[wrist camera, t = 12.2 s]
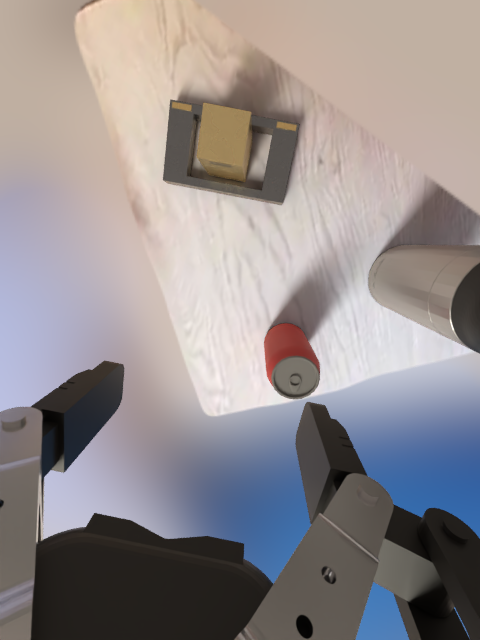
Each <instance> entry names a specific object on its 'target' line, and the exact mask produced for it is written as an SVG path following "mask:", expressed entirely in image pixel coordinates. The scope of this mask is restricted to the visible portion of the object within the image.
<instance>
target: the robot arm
mask: <svg viewBox="0 0 480 640" xmlns="http://www.w3.org/2000/svg"><path fill="white" fill-rule="evenodd" d="M368 286H369V290H370V293H371V295H372V297H373V298H374V299H375V300H376V301H377V302H378V303H379V304H381V305H382V306H384V307H386V308H388V309H390V310H392V311H394V312H396V313H398V314H400V315H402V316H404V317H406V318H408V319H410V320H412V321H414V322H416V323H418V324H420V325H422V326H424V327H426V328H428V329H431V330H433V331H435V332H437V333H439V334H441V335H443V336H445V337H447V338H449V339H451V340H453V341H455V342H457V343H459V344H461V345H463V346H465V347H467V348H469V349H472V350H474V351H476V352H478V353H480V245H400V246H396V247H393V248H391V249H389V250H387V251H386V252H384V253H383V254H381V255H380V256H379V257H378V258H377V260H376V261H375V262H374V264H373V265H372V268H371V270H370V273H369V278H368ZM123 378H124V366H123V364H119V363H114V362H109V361H103V362H102V363H101V364H99V365H98V366H97V367H96V368H94V369H93V370H86V371H83V372H81V373H78V374H76V375H74V376H73V377H71V378H70V379H69V380H67V382H65V383H63V384H62V385H60V386H59V388H56V389H55V390H53V391H52V392H51V393H49V394H48V395H47V396H45V397H44V398H42V399H41V400H40V401H38V402H37V403H35V404H34V405H32V406H31V407H17V408H12V409H8V410H5V411H2V412H0V640H355V639H356V635H357V632H358V629H359V626H360V623H361V619H362V616H363V613H364V610H365V606H366V603H367V600H368V597H369V593H370V590H371V587H372V584H373V582H375V583H376V584H378V585H380V586H382V587H384V588H385V589H387V590H389V591H391V592H392V593H394V596H395V599H396V602H397V605H398V608H399V611H400V613H401V617H402V619H403V622H404V625H405V628H406V631H407V634H408V637H409V639H410V640H480V539H479V538H478V536H477V535H476V534H475V532H473V530H472V529H471V528H470V527H469V526H468V525H466V524H465V523H464V522H463V521H461V520H460V519H459V518H457V517H456V516H454V515H452V514H450V513H448V512H446V511H444V510H441V509H437V508H429V509H427V510H426V511H425V513H424V515H423V517H422V518H421V517H419V516H417V515H415V514H413V513H411V512H408V511H406V510H404V509H402V508H400V507H398V506H396V505H394V504H393V501H392V499H391V497H390V495H389V493H388V492H387V491H386V490H385V489H384V488H383V487H382V486H381V485H380V484H379V483H378V482H376V481H375V480H373V479H371V478H370V477H368V476H367V474H366V472H365V470H364V468H363V466H362V463H361V461H360V459H359V457H358V455H357V453H356V451H355V449H354V448H353V444H352V442H351V441H350V438H349V436H348V434H347V432H346V430H345V429H344V427H343V426H342V425H341V424H340V423H339V422H338V421H337V420H335V419H331V418H330V415H329V413H328V411H327V408H326V406H325V405H321V404H315V403H311V402H307V403H306V404H305V407H304V410H303V413H302V417H301V420H300V423H299V427H298V430H297V434H296V450H297V455H298V460H299V465H300V470H301V476H302V481H303V486H304V491H305V497H306V502H307V507H308V512H309V518H310V523H311V524H312V525H311V527H310V528H309V530H308V531H307V533H306V534H305V536H304V537H303V539H302V541H301V542H300V544H299V545H298V547H297V548H296V550H295V551H294V554H293V555H292V556H291V558H290V559H289V561H288V563H287V564H286V566H285V567H284V569H283V570H282V572H281V573H280V575H279V576H278V578H277V580H276V581H275V583H274V584H273V583H272V582H271V581H270V580H269V578H268V577H267V576H266V575H265V574H264V573H262V571H261V570H259V569H258V568H257V567H255V566H254V565H253V564H252V563H250V562H249V561H247V560H245V559H243V557H244V544H243V543H238V542H234V541H229V540H224V539H219V538H214V537H209V536H203V537H190V538H178V539H164V538H162V537H160V536H159V535H157V534H155V533H153V532H151V531H149V530H148V529H145V528H144V527H142V526H140V525H138V524H137V523H135V522H133V521H131V520H126V519H121V518H116V517H111V516H107V515H102V514H97V513H94V515H93V516H92V518H91V520H90V521H89V523H88V525H87V526H86V527H81V528H76V529H71V530H67V531H64V532H61V533H58V534H55V535H53V536H50V537H48V538H46V539H44V540H43V512H44V477H45V475H46V474H47V473H48V472H49V471H50V470H54V471H59V472H65V471H66V470H67V469H68V467H69V466H70V465H71V464H72V463H73V462H74V460H75V459H76V458H77V457H78V455H79V454H80V453H81V452H82V451H83V450H84V449H85V447H86V446H87V445H88V444H89V443H90V441H91V440H92V439H93V437H95V435H96V434H97V433H98V432H99V431H100V430H101V428H102V427H103V426H104V425H105V424H106V422H107V421H108V420H109V419H110V418H111V416H112V415H113V414H114V413H115V412H116V410H117V409H118V407H119V405H120V403H121V400H122V393H123ZM454 607H455V608H456V610H457V612H458V614H459V616H460V618H461V620H462V622H463V624H464V626H465V628H466V630H467V632H468V635H469V637H470V639H469V637H468V635H467V633H466V631H465V630H464V627H463V625H462V623H461V621H460V619H459V617H458V615H457V613H456V611H455V609H454Z"/></svg>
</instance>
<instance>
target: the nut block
mask: <svg viewBox="0 0 480 640" xmlns="http://www.w3.org/2000/svg"><path fill="white" fill-rule="evenodd" d="M251 146H252V116H251V112H250V111H245V110H240V109H234V108H229V107H224V106H219V105H214V104H209V103H203V110H202V118H201V126H200V134H199V142H198V150H197V158H198V160H199V161H200V163H201V164H202V165H203V167H204V168H205V170H206V171H207V173H208V174H209V175H211V176H216V177H221V178H226V179H231V180H237V181H242V182H245V180H246V174H247V169H248V163H249V157H250V151H251Z"/></svg>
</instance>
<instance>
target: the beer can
mask: <svg viewBox="0 0 480 640" xmlns="http://www.w3.org/2000/svg"><path fill="white" fill-rule="evenodd" d="M264 348H265V361H266V371H267V377H268V379H269V381H270V383H271V384H272V386H273V387H274V389H275V390H276V391H277V392H278V393H279V394H280V395H282V396H284V397H286V398H289V399H302V398H304V397H306V396H309V395H310V394H311V393H312V392H314V391H315V389H316V388H317V386H318V384H319V380H320V376H319V375H320V365H319V361H318V359H317V357H316V355H315V353H314V351H313V349H312V347H311V345H310V344H309V342H308V340H307V338H306V336H305V334H304V332H303V331H302V330H301V329H300V328H299V327H297V326H295V325H293V324H288V323H284V324H278V325H276V326H274V327H273V328H272V329H270V330H269V331H268V333H267V335H266V336H265V341H264Z"/></svg>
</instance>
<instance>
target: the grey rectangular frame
mask: <svg viewBox="0 0 480 640" xmlns="http://www.w3.org/2000/svg"><path fill="white" fill-rule="evenodd" d="M202 110H203V106H202V105H196V104H191V103H186V102H181V101H175V100H170V110H169V121H168V132H167V142H166V153H165V164H164V175H163V180H164V181H165V182H166V183H168V184H173V185H179V186H184V187H189V188H194V189H199V190H205V191H210V192H215V193H220V194H226V195H231V196H236V197H241V198H246V199H252V200H257V201H262V202H267V203H273V204H278V205H282V204H283V200H284V195H285V191H286V186H287V181H288V177H289V172H290V167H291V162H292V158H293V153H294V148H295V144H296V139H297V134H298V129H299V125H300V124H296V123H291V122H286V121H281V120H275V119H270V118H265V117H259V116H254V115H251V116H252V131H253V132H258V133H263V134H269V135H272V140H271V145H270V150H269V156H268V161H267V166H266V172H265V177H264V182H263V187H262V190H256V189H251V188H246V187H241V186H236V185H230V184H225V183H220V182H215V181H209V180H204V179H199V178H194V177H190V176H191V167H192V159H193V151H194V142H195V134H196V125H197V121H200V122H201V118H202Z"/></svg>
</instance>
